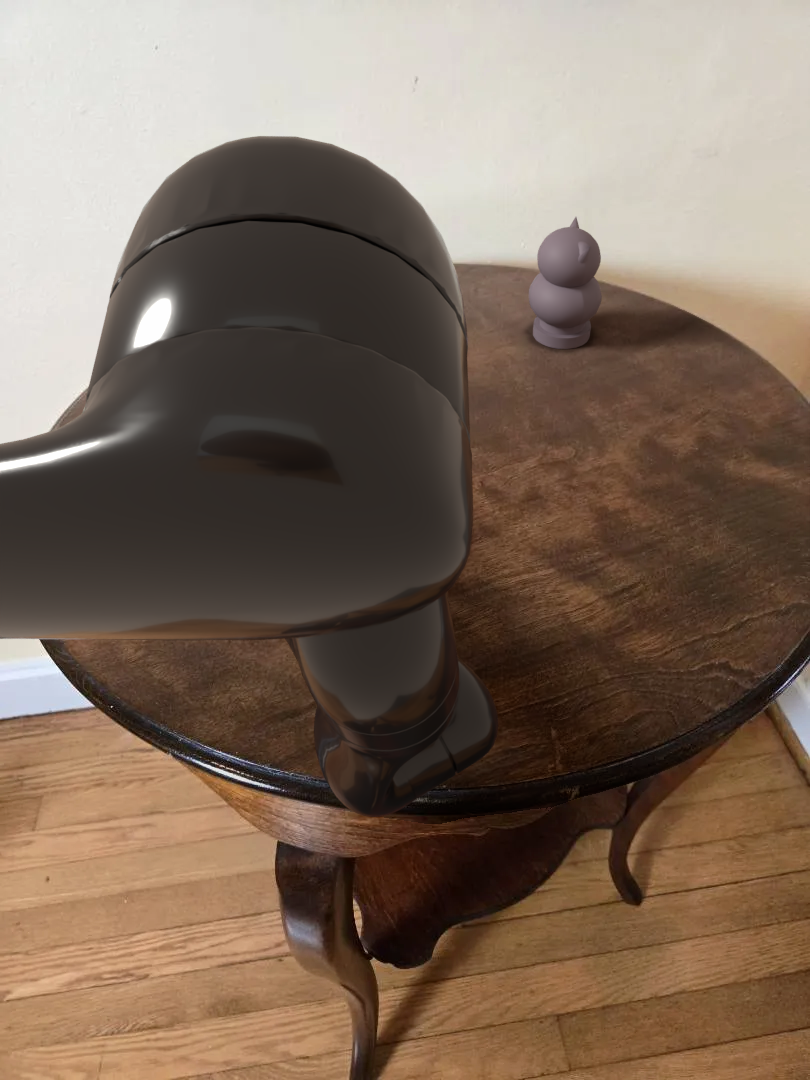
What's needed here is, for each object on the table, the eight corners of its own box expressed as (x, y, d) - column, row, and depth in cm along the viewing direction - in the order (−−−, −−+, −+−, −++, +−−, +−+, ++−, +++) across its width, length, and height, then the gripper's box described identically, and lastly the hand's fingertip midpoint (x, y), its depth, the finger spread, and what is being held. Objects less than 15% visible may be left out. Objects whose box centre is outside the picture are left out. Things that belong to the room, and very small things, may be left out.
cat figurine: (519, 316, 98) (528, 214, 90) (586, 313, 98) (601, 211, 90) (531, 355, 92) (542, 249, 84) (603, 352, 92) (620, 246, 84)
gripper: (386, 485, 59) (297, 375, 70) (190, 553, 55) (126, 423, 65) (389, 560, 64) (306, 447, 75) (210, 628, 60) (148, 497, 70)
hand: (222, 436), depth 70 cm, fingers open, 8 cm apart
